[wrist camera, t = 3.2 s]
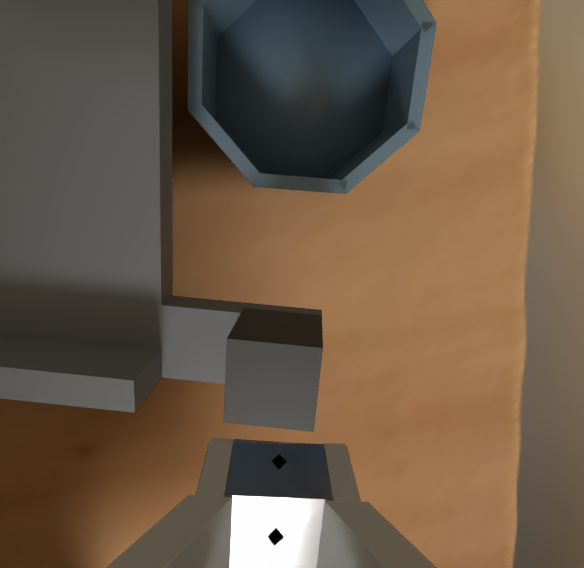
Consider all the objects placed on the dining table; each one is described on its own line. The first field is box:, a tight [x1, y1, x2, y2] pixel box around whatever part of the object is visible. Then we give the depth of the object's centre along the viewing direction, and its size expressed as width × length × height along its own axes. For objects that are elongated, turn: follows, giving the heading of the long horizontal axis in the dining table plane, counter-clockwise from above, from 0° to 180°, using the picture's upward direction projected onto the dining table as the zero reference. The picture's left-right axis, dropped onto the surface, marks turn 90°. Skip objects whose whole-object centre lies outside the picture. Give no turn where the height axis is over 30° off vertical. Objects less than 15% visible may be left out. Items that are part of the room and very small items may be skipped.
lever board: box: [0, 0, 323, 432], centre depth 13 cm, size 17×20×4 cm
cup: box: [187, 0, 436, 194], centre depth 19 cm, size 10×10×5 cm
